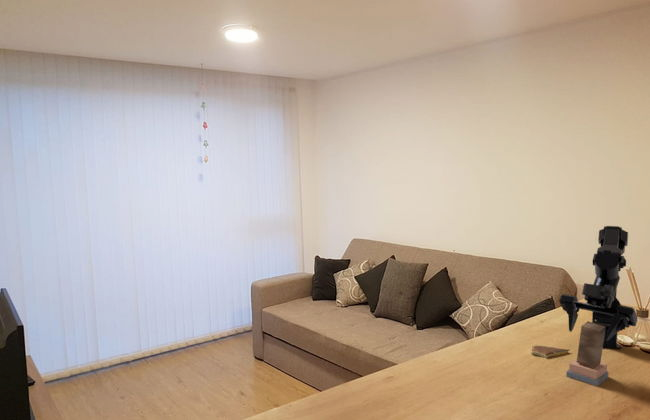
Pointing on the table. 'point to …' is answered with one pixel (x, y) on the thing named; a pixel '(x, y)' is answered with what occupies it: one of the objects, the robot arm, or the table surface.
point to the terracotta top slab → (588, 370)
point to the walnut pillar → (591, 344)
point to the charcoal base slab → (587, 378)
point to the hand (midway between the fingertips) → (587, 335)
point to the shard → (547, 351)
